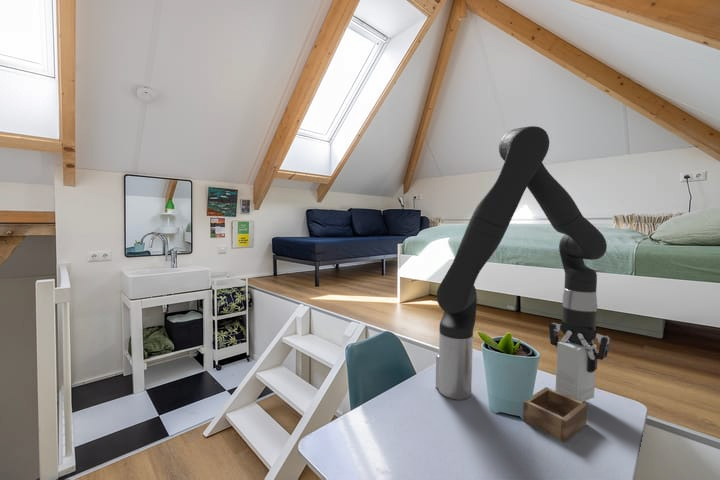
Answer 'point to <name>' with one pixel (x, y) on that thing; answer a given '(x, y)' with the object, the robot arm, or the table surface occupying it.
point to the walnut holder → (552, 422)
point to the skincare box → (574, 372)
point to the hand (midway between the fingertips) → (576, 366)
